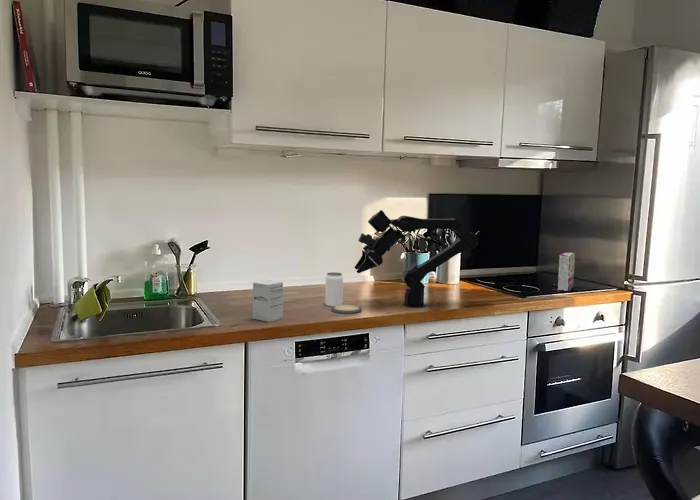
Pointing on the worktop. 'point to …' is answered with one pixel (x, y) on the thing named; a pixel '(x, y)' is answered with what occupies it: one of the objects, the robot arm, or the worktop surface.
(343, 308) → the trivet
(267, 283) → the supplement box
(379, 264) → the robot arm
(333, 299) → the can
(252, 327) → the worktop surface
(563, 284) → the candy bar box
